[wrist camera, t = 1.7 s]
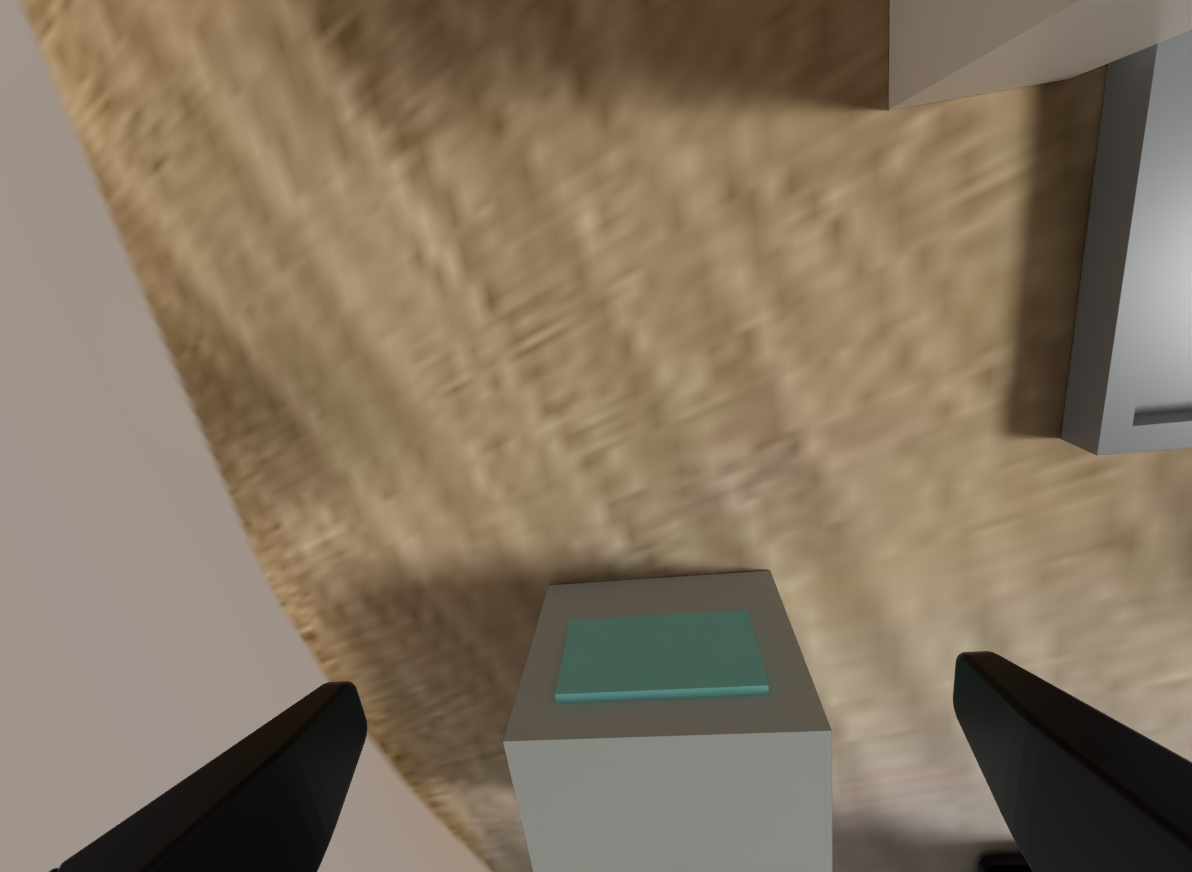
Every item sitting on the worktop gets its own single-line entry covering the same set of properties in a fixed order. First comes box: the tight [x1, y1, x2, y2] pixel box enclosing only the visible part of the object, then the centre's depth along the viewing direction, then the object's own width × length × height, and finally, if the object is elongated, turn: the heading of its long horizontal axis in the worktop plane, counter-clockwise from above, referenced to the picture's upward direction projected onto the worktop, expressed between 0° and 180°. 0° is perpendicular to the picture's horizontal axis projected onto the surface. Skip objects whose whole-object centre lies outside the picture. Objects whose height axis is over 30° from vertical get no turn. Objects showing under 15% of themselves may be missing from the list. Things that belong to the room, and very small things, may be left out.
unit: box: [503, 570, 832, 872], centre depth 18 cm, size 10×8×8 cm
